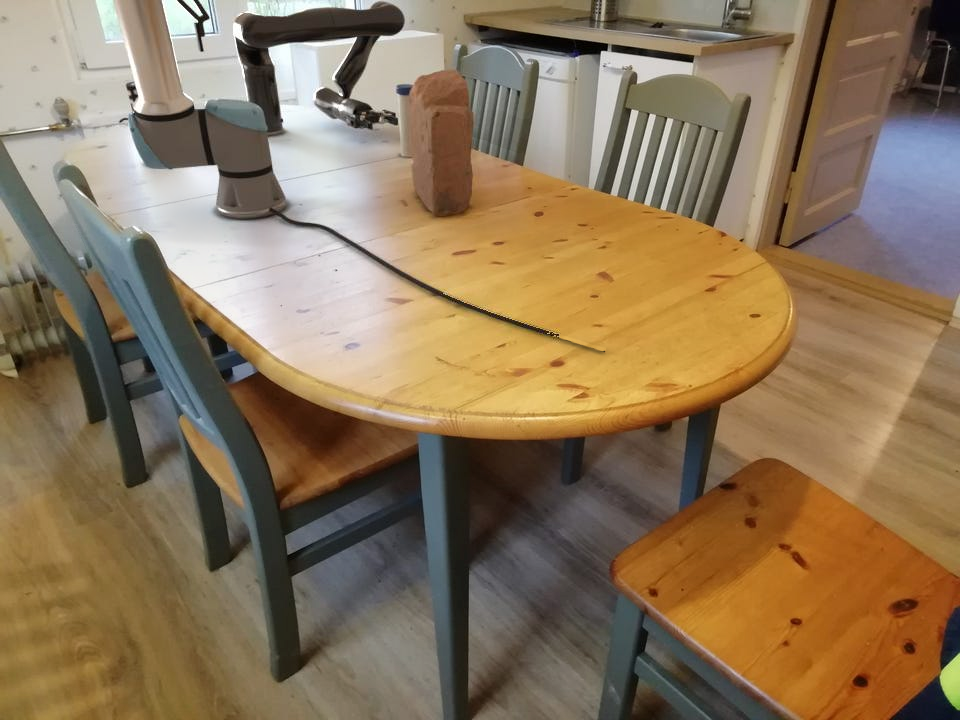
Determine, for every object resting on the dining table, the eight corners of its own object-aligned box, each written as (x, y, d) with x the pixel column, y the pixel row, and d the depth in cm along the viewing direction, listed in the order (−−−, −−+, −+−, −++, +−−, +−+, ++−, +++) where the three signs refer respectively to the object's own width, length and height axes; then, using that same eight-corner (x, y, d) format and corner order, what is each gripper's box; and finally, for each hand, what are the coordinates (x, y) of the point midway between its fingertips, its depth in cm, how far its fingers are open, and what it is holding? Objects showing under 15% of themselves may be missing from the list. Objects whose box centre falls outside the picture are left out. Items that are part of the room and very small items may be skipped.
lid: (395, 91, 187) (395, 84, 186) (413, 91, 188) (413, 83, 187) (397, 95, 183) (396, 88, 182) (415, 94, 184) (415, 87, 183)
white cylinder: (400, 153, 196) (397, 86, 186) (414, 152, 197) (412, 85, 187) (401, 157, 193) (398, 89, 183) (416, 156, 193) (413, 89, 183)
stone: (482, 213, 155) (482, 80, 141) (434, 219, 152) (429, 83, 138) (455, 187, 173) (452, 67, 159) (411, 191, 170) (404, 69, 156)
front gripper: (205, -45, 171) (221, 47, 183) (94, -45, 161) (118, 53, 173) (210, -44, 166) (227, 51, 177) (95, -43, 156) (121, 58, 167)
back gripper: (333, 103, 204) (362, 113, 193) (375, 97, 212) (404, 107, 201) (336, 129, 208) (364, 141, 197) (376, 122, 216) (405, 133, 205)
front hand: (173, 53), depth 175 cm, fingers open, 13 cm apart
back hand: (384, 123), depth 199 cm, fingers open, 8 cm apart
